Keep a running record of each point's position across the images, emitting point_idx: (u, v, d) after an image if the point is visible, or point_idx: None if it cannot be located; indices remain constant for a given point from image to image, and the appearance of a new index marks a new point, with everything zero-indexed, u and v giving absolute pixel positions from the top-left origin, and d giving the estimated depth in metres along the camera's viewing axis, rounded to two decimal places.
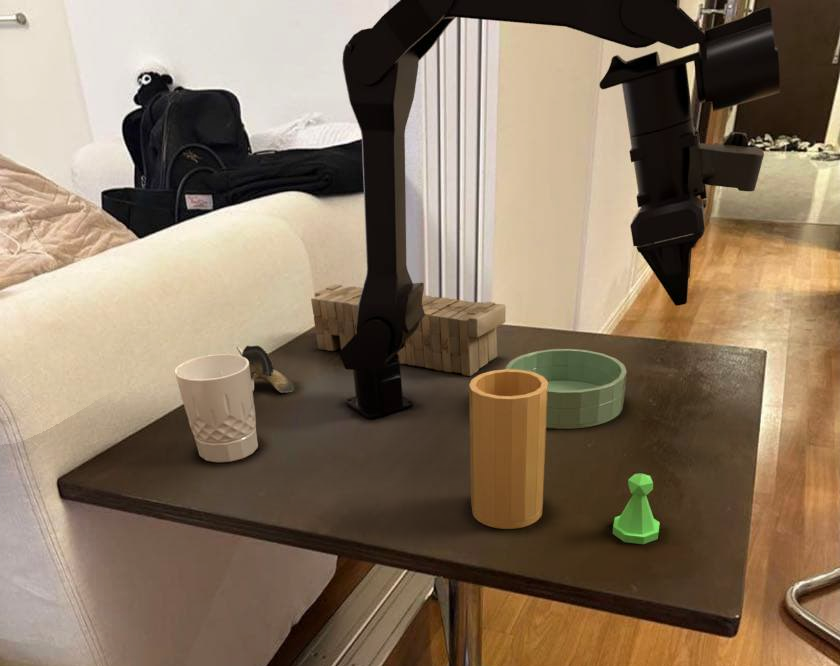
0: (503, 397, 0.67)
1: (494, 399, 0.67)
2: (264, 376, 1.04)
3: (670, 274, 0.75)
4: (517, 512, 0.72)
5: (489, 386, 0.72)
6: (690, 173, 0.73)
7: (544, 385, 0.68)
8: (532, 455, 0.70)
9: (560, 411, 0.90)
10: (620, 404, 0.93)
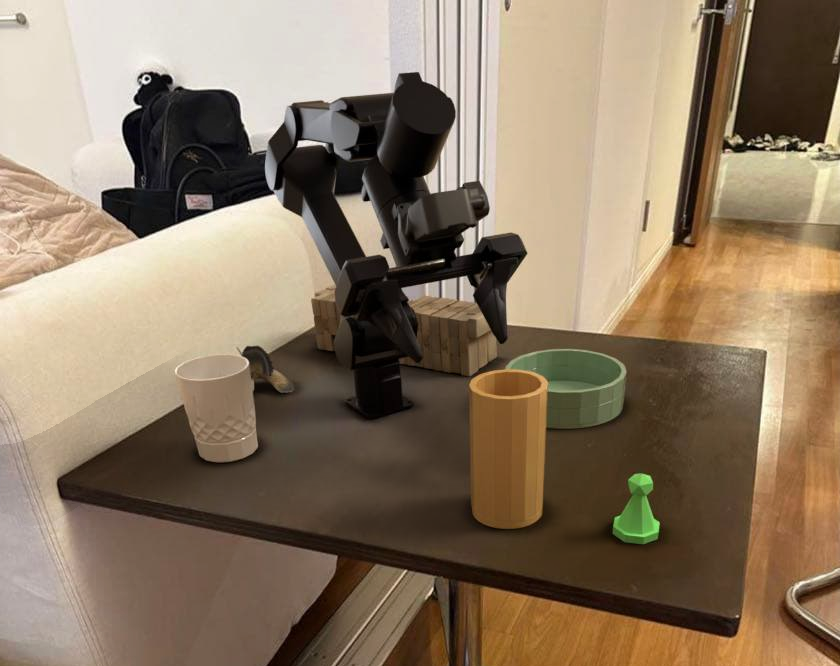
0: (503, 397, 0.67)
1: (494, 399, 0.67)
2: (264, 376, 1.04)
3: (394, 333, 0.74)
4: (517, 512, 0.72)
5: (489, 386, 0.72)
6: (399, 238, 0.74)
7: (544, 385, 0.68)
8: (532, 455, 0.70)
9: (560, 411, 0.90)
10: (620, 404, 0.93)
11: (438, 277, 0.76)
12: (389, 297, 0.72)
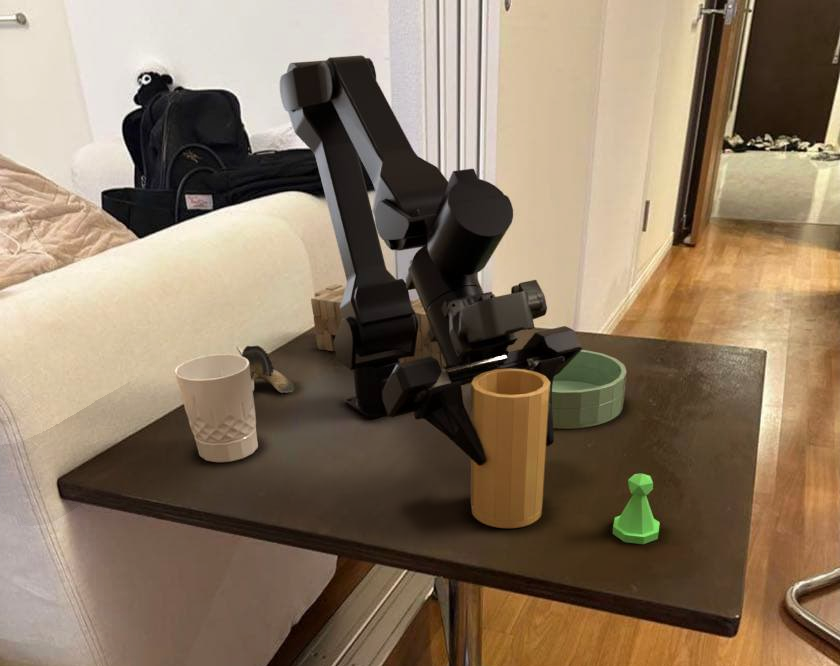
0: (505, 395, 0.67)
1: (495, 397, 0.67)
2: (264, 376, 1.04)
3: (455, 434, 0.71)
4: (516, 511, 0.72)
5: (491, 385, 0.72)
6: (451, 337, 0.70)
7: (546, 385, 0.68)
8: (533, 454, 0.70)
9: (560, 411, 0.90)
10: (620, 404, 0.93)
11: None
12: (452, 399, 0.69)
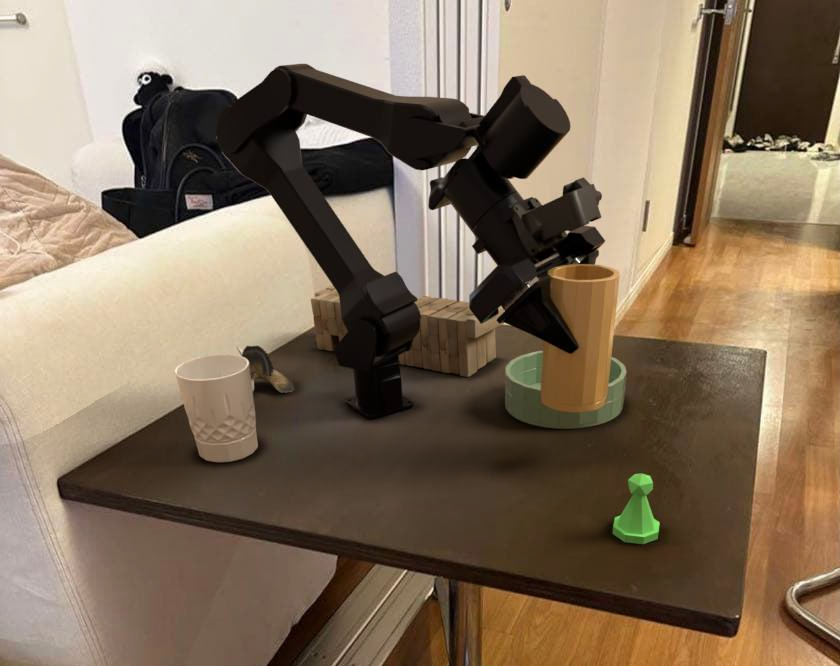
0: (597, 280, 0.73)
1: (590, 283, 0.73)
2: (264, 376, 1.04)
3: (544, 329, 0.75)
4: (599, 393, 0.79)
5: None
6: (521, 239, 0.74)
7: (614, 269, 0.76)
8: (611, 335, 0.77)
9: (560, 411, 0.90)
10: (620, 404, 0.93)
11: (542, 276, 0.77)
12: (545, 293, 0.73)
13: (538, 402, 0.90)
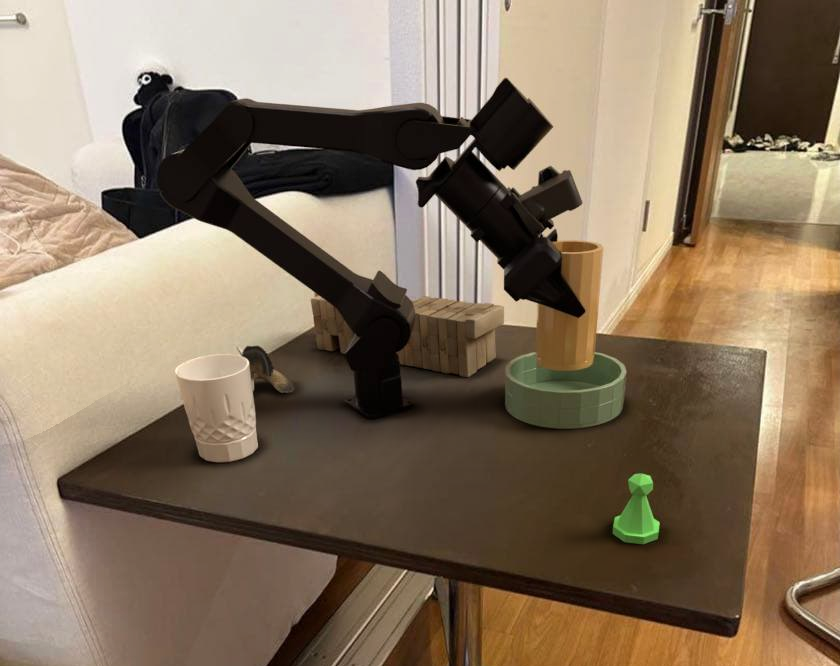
0: (595, 250, 0.85)
1: (592, 253, 0.84)
2: (264, 376, 1.04)
3: (558, 299, 0.85)
4: (594, 349, 0.92)
5: None
6: (525, 222, 0.83)
7: (589, 242, 0.88)
8: None
9: (560, 411, 0.90)
10: (620, 404, 0.93)
11: None
12: None
13: (538, 402, 0.90)
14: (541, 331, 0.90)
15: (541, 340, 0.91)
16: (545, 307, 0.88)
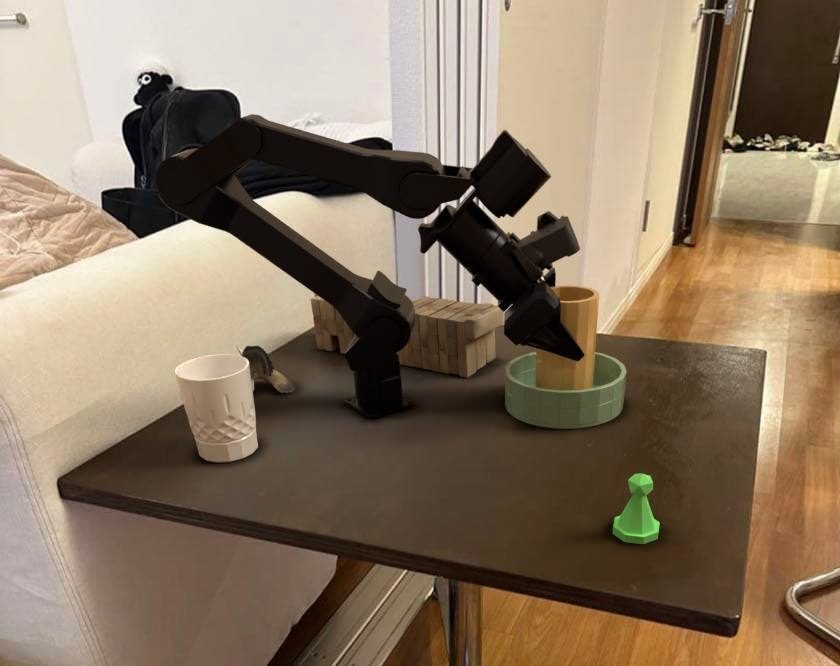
0: (591, 298, 0.87)
1: (588, 301, 0.87)
2: (264, 376, 1.04)
3: (558, 344, 0.87)
4: None
5: None
6: (525, 268, 0.86)
7: (586, 287, 0.91)
8: None
9: (560, 411, 0.90)
10: (620, 404, 0.93)
11: None
12: None
13: (538, 402, 0.90)
14: (539, 374, 0.93)
15: (540, 382, 0.94)
16: (543, 352, 0.91)
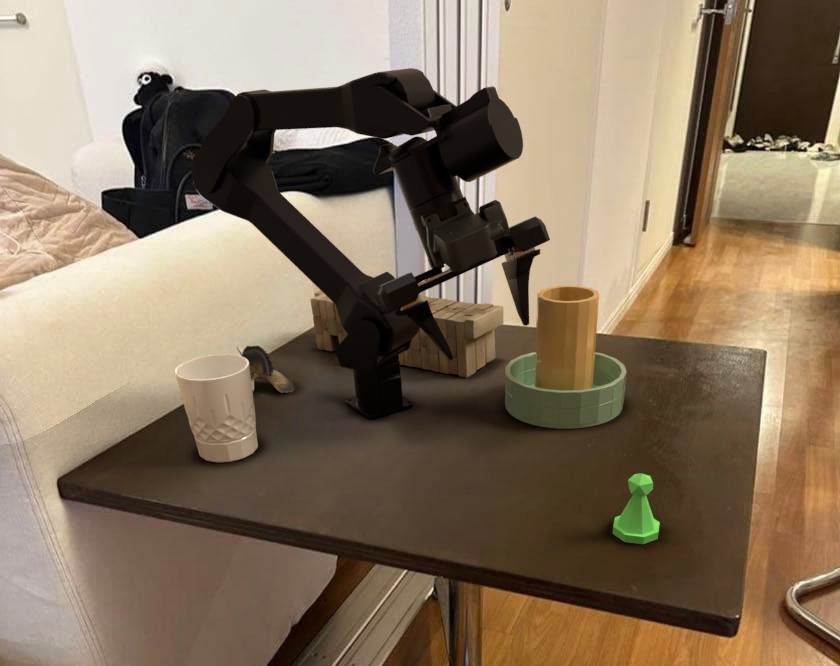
0: (591, 298, 0.87)
1: (588, 301, 0.87)
2: (264, 376, 1.04)
3: (428, 334, 0.86)
4: None
5: None
6: (428, 249, 0.81)
7: (586, 287, 0.91)
8: None
9: (560, 411, 0.90)
10: (620, 404, 0.93)
11: (466, 271, 0.84)
12: (422, 314, 0.83)
13: (538, 402, 0.90)
14: (539, 374, 0.93)
15: (540, 382, 0.94)
16: (543, 352, 0.91)
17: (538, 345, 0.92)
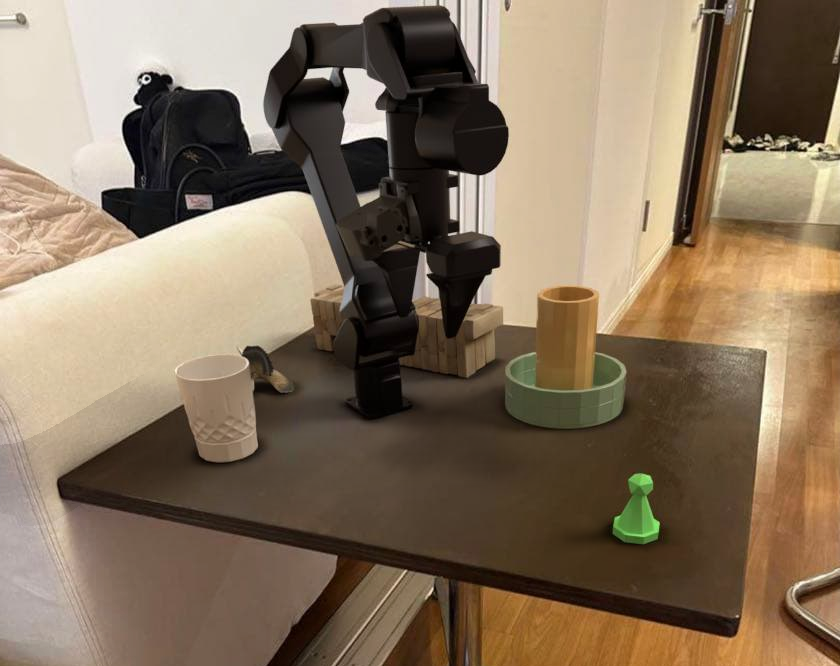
0: (591, 298, 0.87)
1: (588, 301, 0.87)
2: (264, 376, 1.04)
3: None
4: None
5: None
6: None
7: (586, 287, 0.91)
8: None
9: (560, 411, 0.90)
10: (620, 404, 0.93)
11: (422, 251, 0.79)
12: (377, 263, 0.84)
13: (538, 402, 0.90)
14: (539, 374, 0.93)
15: (540, 382, 0.94)
16: (543, 352, 0.91)
17: (538, 345, 0.92)
